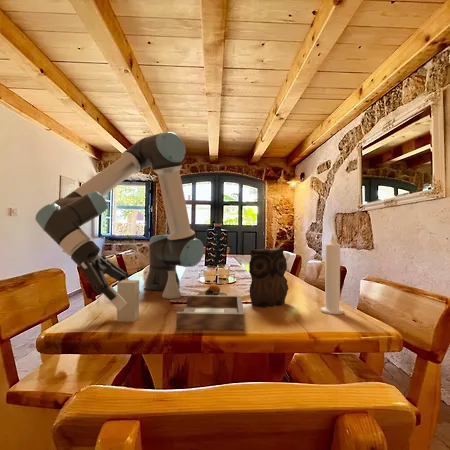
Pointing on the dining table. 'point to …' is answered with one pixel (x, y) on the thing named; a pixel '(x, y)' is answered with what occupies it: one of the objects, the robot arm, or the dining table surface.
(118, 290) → the block
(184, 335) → the dining table surface
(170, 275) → the flask
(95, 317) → the dining table surface
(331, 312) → the candle
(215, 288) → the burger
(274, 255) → the owl
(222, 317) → the shallow rimmed tray
